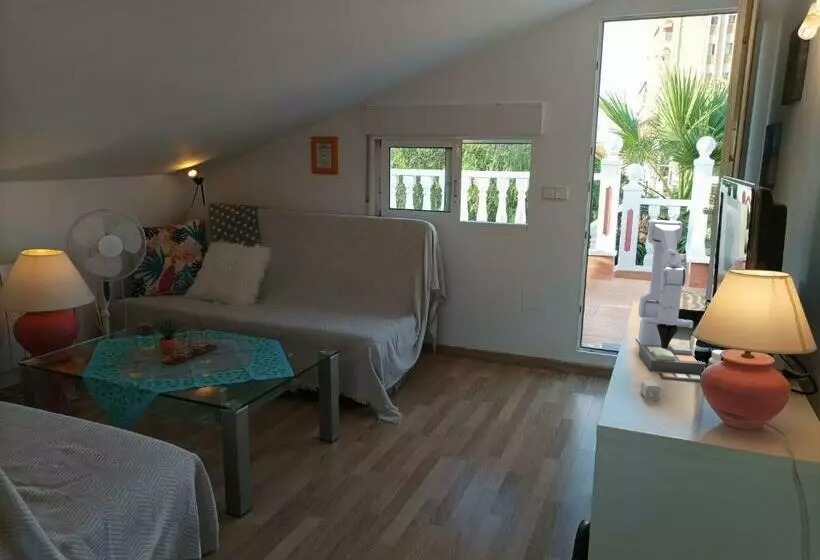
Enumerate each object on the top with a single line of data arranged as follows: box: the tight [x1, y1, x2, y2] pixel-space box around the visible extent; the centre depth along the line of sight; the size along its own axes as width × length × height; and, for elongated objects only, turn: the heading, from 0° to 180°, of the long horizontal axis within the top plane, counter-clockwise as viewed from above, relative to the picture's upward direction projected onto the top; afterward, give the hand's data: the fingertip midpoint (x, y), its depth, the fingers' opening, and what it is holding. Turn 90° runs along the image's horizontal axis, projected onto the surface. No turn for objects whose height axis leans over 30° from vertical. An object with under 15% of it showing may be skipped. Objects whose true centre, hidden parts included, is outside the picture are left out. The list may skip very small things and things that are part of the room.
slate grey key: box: [669, 343, 692, 355], centre depth 199 cm, size 5×5×3 cm
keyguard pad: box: [638, 343, 707, 375], centre depth 196 cm, size 16×16×4 cm
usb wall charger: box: [640, 379, 662, 401], centre depth 169 cm, size 4×7×4 cm, turn 176°
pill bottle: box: [707, 349, 724, 366], centre depth 180 cm, size 6×6×10 cm
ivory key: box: [647, 346, 666, 352], centre depth 200 cm, size 5×5×3 cm
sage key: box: [652, 350, 675, 361], centre depth 193 cm, size 5×5×3 cm
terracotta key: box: [675, 355, 698, 362], centre depth 192 cm, size 5×5×3 cm
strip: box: [658, 372, 701, 383], centre depth 185 cm, size 12×4×1 cm, turn 83°
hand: (664, 347), depth 192 cm, fingers closed
